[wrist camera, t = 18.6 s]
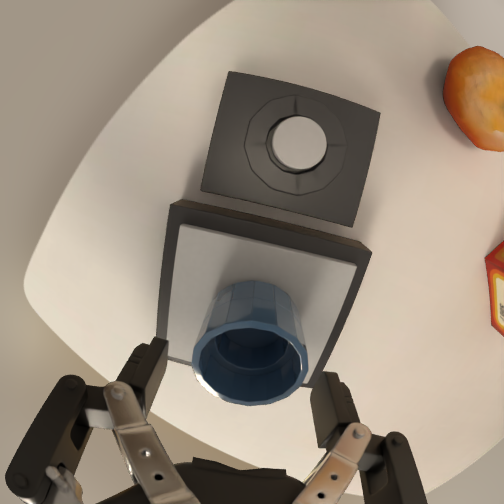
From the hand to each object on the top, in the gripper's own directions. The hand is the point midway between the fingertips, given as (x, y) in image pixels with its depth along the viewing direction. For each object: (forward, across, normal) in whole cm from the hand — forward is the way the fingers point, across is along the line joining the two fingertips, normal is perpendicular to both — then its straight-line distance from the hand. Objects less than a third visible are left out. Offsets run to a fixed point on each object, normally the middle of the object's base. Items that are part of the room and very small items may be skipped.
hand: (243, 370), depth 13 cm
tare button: (+5, 0, -11) cm, 12 cm away
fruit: (+8, -13, -20) cm, 26 cm away
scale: (+8, 0, 0) cm, 8 cm away
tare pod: (+8, 0, -11) cm, 14 cm away
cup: (+5, 0, 0) cm, 5 cm away
